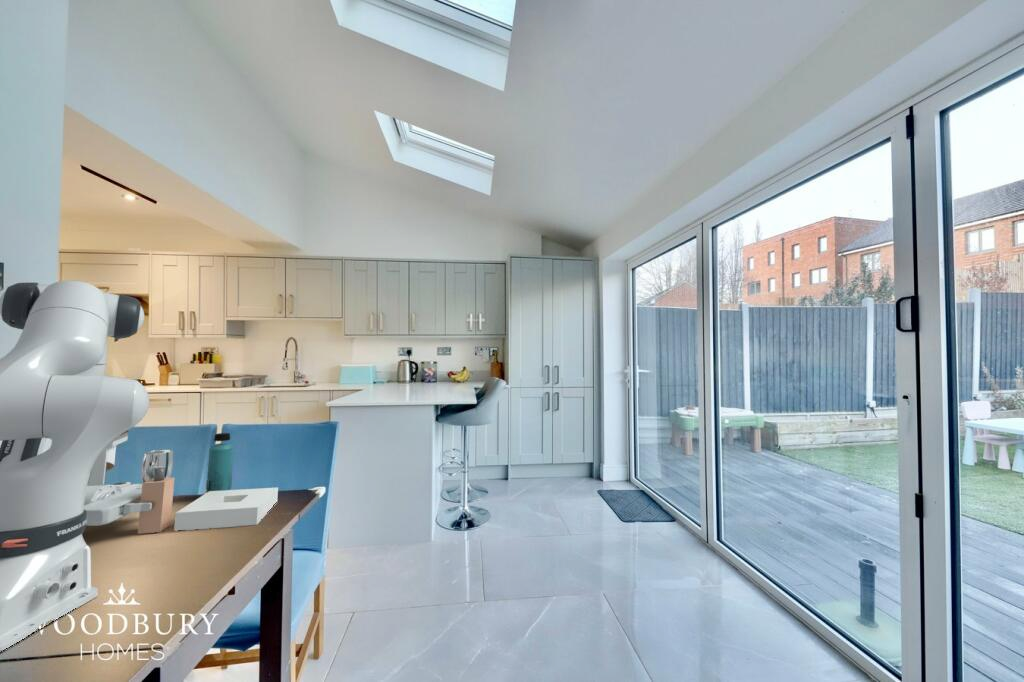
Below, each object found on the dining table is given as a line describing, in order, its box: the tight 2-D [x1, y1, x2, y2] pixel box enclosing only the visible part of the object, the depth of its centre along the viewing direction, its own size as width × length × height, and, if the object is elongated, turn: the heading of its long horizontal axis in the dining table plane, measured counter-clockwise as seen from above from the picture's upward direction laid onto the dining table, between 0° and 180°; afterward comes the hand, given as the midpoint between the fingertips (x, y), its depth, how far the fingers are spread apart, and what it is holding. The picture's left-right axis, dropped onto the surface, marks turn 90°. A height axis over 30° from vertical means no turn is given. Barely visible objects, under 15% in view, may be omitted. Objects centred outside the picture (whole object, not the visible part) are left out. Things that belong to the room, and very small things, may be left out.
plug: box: [137, 467, 175, 535], centre depth 97 cm, size 4×4×15 cm
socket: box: [173, 487, 279, 532], centre depth 108 cm, size 18×18×4 cm
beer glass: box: [141, 449, 174, 483], centre depth 117 cm, size 7×7×15 cm
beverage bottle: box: [205, 432, 234, 494], centre depth 123 cm, size 6×7×20 cm
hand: (161, 501), depth 98 cm, fingers closed on plug, 5 cm apart
